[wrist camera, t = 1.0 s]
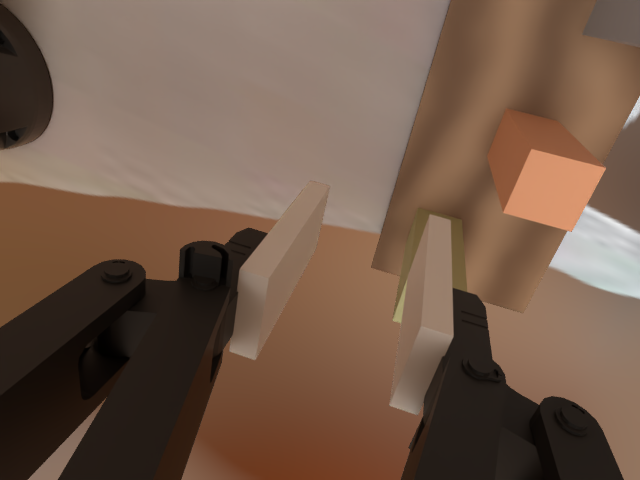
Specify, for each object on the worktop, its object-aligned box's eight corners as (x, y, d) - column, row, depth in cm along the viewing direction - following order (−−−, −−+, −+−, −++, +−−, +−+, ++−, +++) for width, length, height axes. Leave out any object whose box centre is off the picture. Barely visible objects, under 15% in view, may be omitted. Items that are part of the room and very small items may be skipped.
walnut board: (372, 261, 45) (370, 267, 44) (486, -118, 30) (487, -122, 29) (521, 306, 44) (523, 313, 43) (721, -74, 28) (732, -77, 27)
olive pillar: (405, 244, 42) (392, 320, 32) (418, 207, 40) (408, 275, 30) (447, 257, 42) (447, 337, 32) (461, 219, 40) (467, 292, 30)
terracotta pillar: (486, 156, 37) (502, 212, 27) (506, 108, 35) (531, 148, 25) (535, 169, 36) (571, 231, 26) (557, 121, 35) (606, 168, 24)
